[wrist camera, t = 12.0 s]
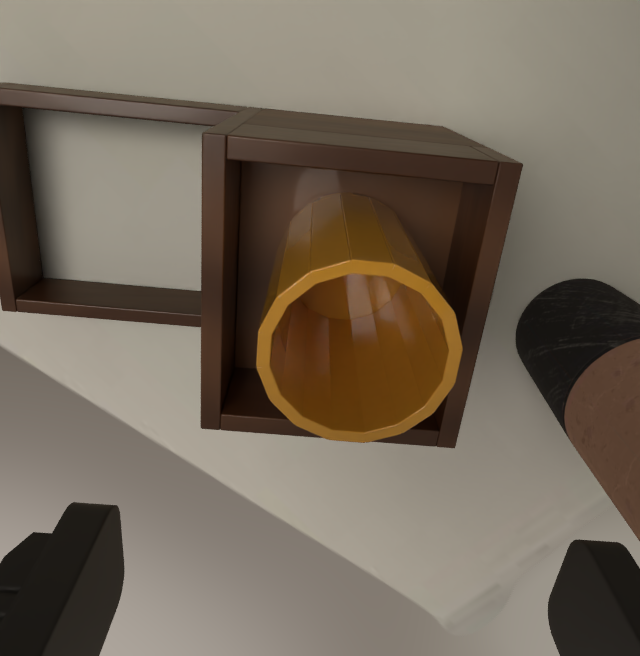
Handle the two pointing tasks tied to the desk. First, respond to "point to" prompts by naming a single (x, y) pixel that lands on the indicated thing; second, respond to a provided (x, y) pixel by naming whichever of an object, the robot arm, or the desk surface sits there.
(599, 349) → the travel mug
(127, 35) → the desk surface
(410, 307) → the cup
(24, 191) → the organizer
